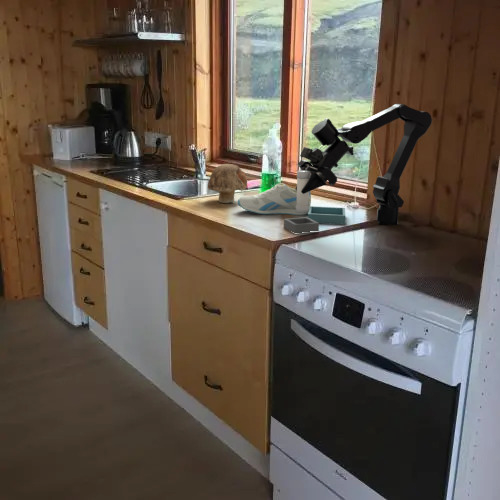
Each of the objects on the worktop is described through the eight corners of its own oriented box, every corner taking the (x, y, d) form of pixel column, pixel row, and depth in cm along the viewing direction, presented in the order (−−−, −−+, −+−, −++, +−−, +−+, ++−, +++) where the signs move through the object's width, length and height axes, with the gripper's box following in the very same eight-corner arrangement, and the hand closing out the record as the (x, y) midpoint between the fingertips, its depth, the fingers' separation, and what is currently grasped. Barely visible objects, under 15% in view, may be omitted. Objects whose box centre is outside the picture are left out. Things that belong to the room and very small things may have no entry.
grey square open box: (306, 225, 195) (307, 217, 195) (318, 232, 188) (319, 223, 187) (283, 227, 192) (283, 218, 192) (294, 234, 185) (295, 224, 184)
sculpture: (252, 205, 226) (252, 166, 221) (212, 207, 221) (212, 167, 217) (241, 197, 239) (242, 160, 235) (204, 199, 235) (203, 161, 231)
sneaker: (236, 209, 218) (237, 181, 215) (307, 209, 220) (308, 181, 217) (238, 216, 208) (238, 186, 205) (312, 215, 211) (313, 186, 208)
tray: (344, 216, 210) (344, 207, 210) (344, 224, 198) (345, 215, 198) (309, 214, 212) (309, 206, 211) (307, 222, 200) (308, 213, 199)
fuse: (309, 210, 191) (310, 170, 187) (308, 213, 187) (310, 172, 183) (296, 209, 192) (297, 170, 188) (295, 212, 188) (296, 172, 184)
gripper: (303, 135, 192) (272, 170, 192) (330, 141, 175) (295, 179, 175) (324, 158, 197) (293, 192, 197) (351, 166, 180) (317, 203, 180)
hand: (299, 191), depth 187 cm, fingers closed on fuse, 4 cm apart
